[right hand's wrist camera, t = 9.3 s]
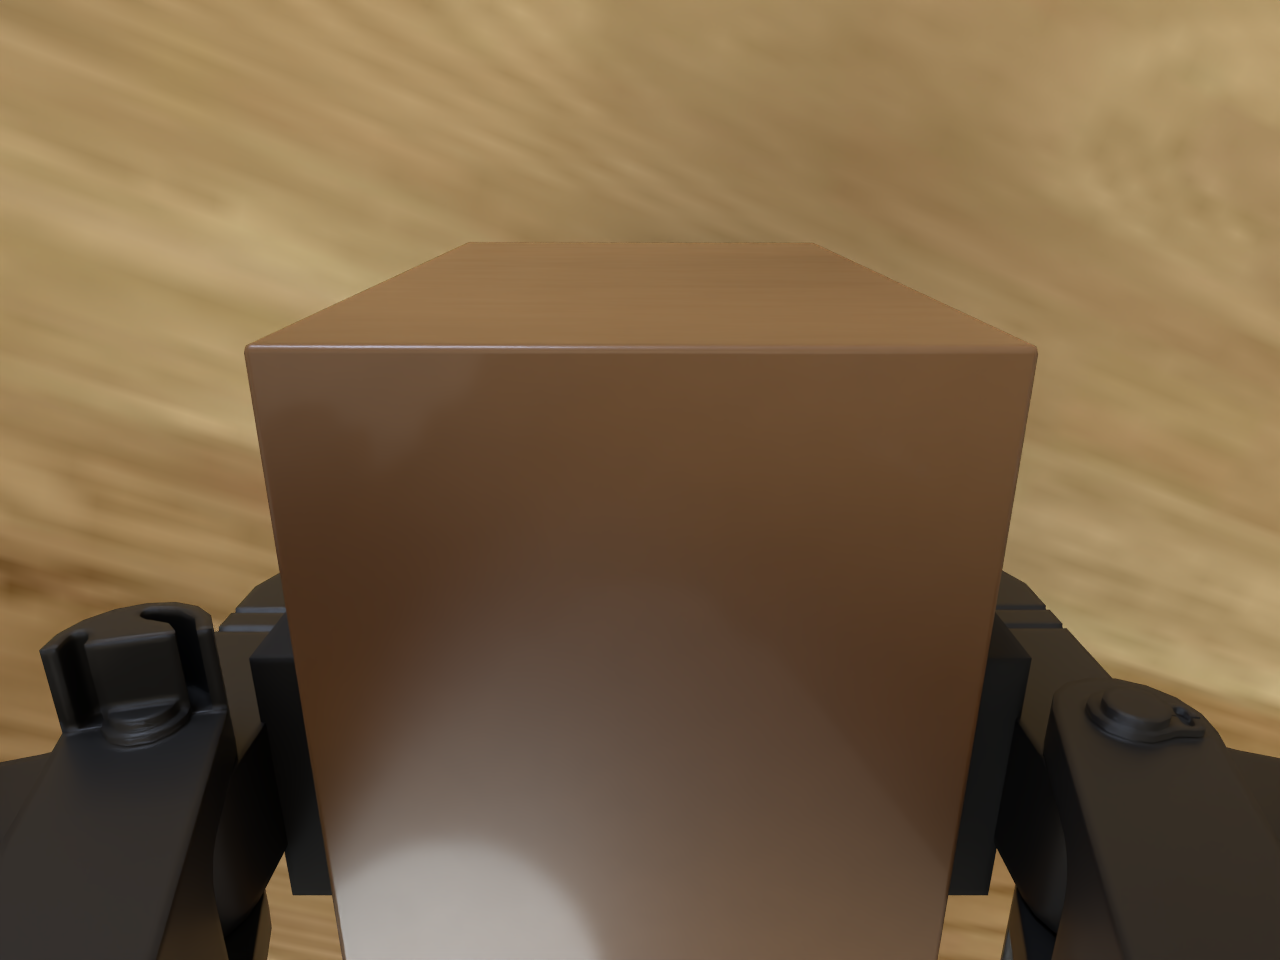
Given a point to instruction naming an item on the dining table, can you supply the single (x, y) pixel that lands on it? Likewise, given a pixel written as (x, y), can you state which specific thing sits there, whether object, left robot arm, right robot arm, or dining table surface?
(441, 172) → the dining table surface
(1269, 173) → the dining table surface
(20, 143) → the dining table surface
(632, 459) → the beam
